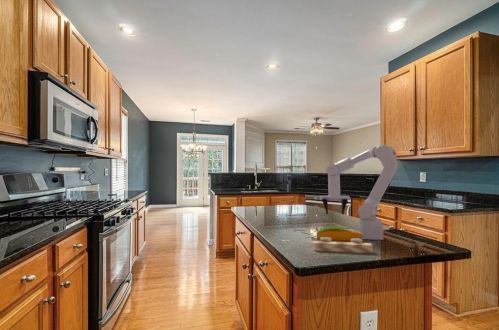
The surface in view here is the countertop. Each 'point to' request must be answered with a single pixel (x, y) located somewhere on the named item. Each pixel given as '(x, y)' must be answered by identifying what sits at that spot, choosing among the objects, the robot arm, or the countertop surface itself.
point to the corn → (338, 234)
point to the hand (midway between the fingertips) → (334, 213)
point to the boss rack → (343, 246)
